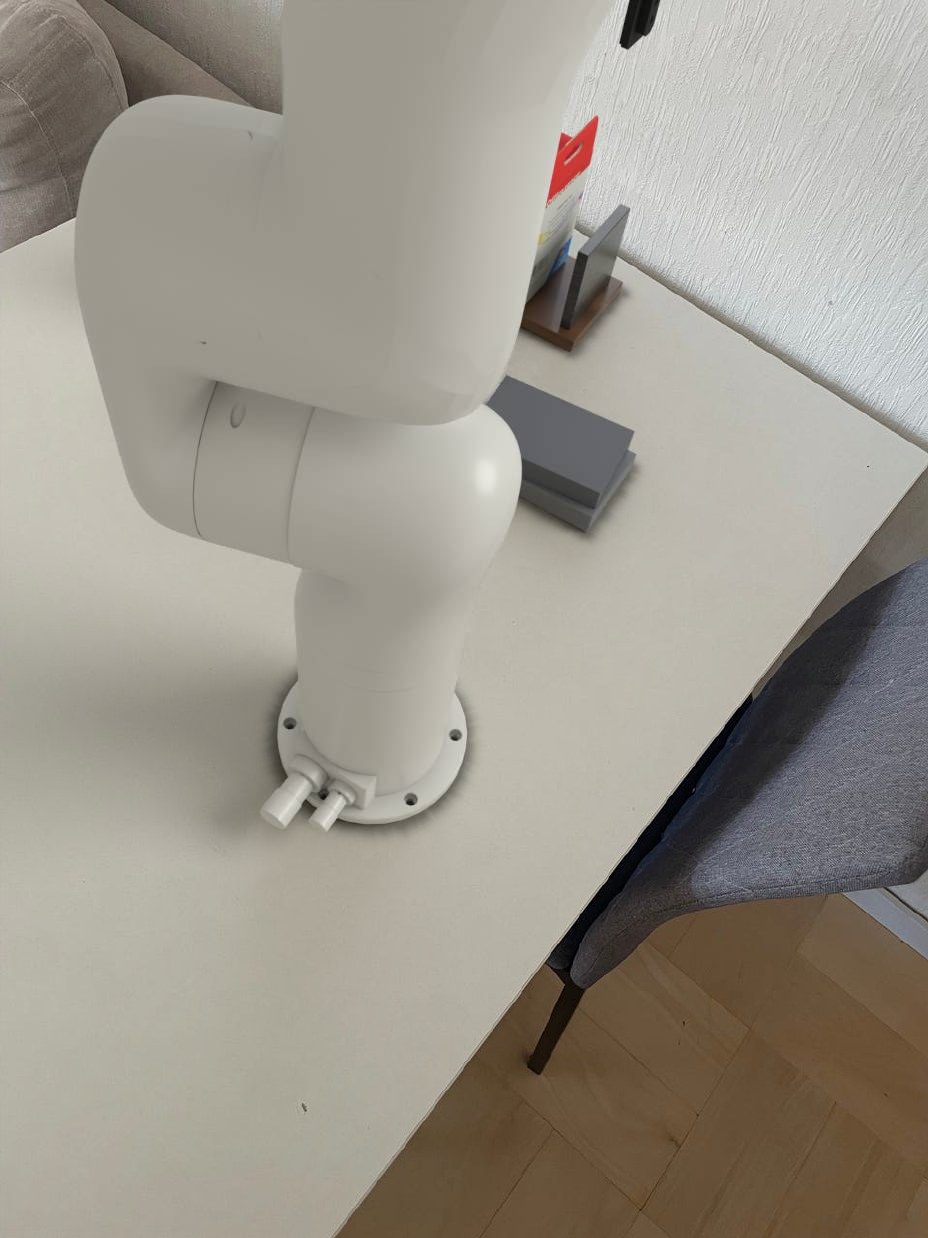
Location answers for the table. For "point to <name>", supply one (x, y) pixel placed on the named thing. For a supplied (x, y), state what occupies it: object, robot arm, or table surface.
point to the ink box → (562, 204)
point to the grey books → (564, 452)
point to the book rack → (579, 287)
